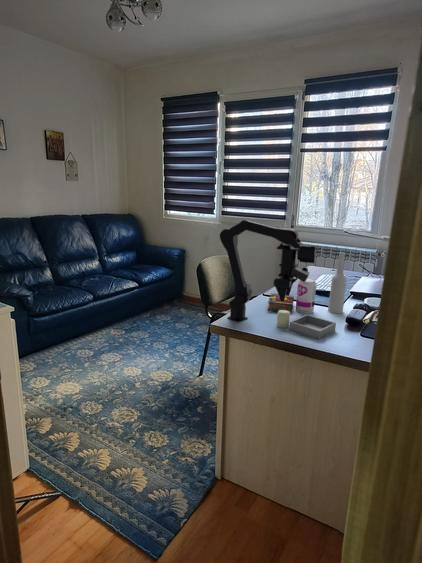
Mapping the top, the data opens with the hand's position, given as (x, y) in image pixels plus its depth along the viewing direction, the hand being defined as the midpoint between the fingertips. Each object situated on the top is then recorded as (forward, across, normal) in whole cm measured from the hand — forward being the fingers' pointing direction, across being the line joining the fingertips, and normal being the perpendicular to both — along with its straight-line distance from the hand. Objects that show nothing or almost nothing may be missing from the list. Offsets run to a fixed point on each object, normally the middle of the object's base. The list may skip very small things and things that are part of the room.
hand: (285, 298), depth 146 cm
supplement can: (+12, +24, -5) cm, 27 cm away
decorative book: (+12, +24, +7) cm, 28 cm away
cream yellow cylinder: (+12, 0, 0) cm, 12 cm away
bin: (+12, 0, -12) cm, 17 cm away
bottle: (+12, +31, -18) cm, 37 cm away
